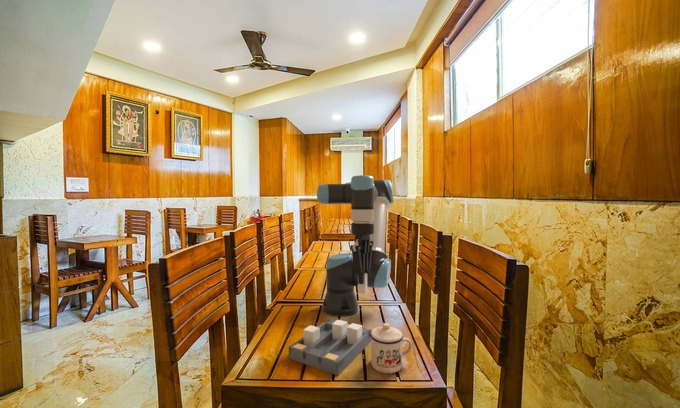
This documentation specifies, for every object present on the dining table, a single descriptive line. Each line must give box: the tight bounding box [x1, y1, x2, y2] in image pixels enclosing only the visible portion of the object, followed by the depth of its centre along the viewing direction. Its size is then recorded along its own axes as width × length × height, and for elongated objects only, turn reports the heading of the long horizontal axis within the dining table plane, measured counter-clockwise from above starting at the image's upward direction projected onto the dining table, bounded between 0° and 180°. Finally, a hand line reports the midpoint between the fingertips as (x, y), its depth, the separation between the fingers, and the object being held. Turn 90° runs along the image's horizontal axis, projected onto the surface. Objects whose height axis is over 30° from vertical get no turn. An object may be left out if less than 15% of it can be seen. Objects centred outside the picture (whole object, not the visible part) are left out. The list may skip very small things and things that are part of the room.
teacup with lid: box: [370, 322, 413, 374], centre depth 83 cm, size 12×9×12 cm
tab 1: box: [303, 325, 320, 347], centre depth 91 cm, size 4×4×5 cm
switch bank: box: [288, 319, 373, 376], centre depth 92 cm, size 22×17×4 cm
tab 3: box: [347, 322, 363, 345], centre depth 93 cm, size 4×4×5 cm
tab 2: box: [332, 319, 348, 340], centre depth 95 cm, size 4×4×5 cm
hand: (362, 292), depth 97 cm, fingers closed
